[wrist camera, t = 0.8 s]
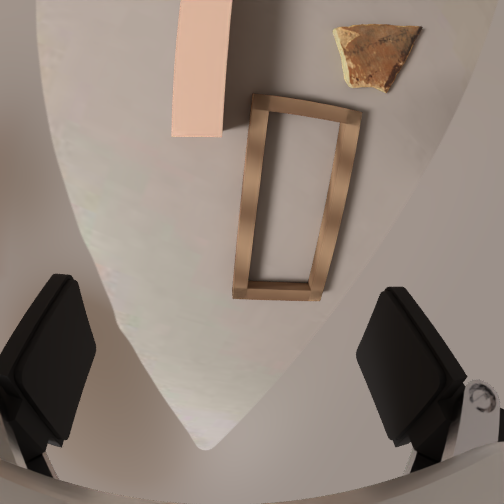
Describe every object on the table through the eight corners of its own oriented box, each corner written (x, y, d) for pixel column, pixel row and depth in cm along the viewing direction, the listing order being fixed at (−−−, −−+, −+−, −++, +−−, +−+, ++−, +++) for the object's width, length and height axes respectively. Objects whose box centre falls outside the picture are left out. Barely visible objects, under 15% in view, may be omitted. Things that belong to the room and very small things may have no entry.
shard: (415, 28, 23) (424, 26, 21) (428, 89, 26) (437, 90, 25) (329, 28, 23) (335, 24, 21) (345, 96, 27) (352, 96, 25)
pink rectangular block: (192, -18, 20) (186, -40, 15) (234, -18, 20) (236, -40, 15) (181, 130, 27) (171, 136, 22) (222, 130, 27) (221, 137, 23)
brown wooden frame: (252, 93, 26) (254, 93, 24) (355, 111, 27) (362, 112, 26) (232, 290, 36) (232, 298, 35) (316, 293, 37) (320, 301, 36)
